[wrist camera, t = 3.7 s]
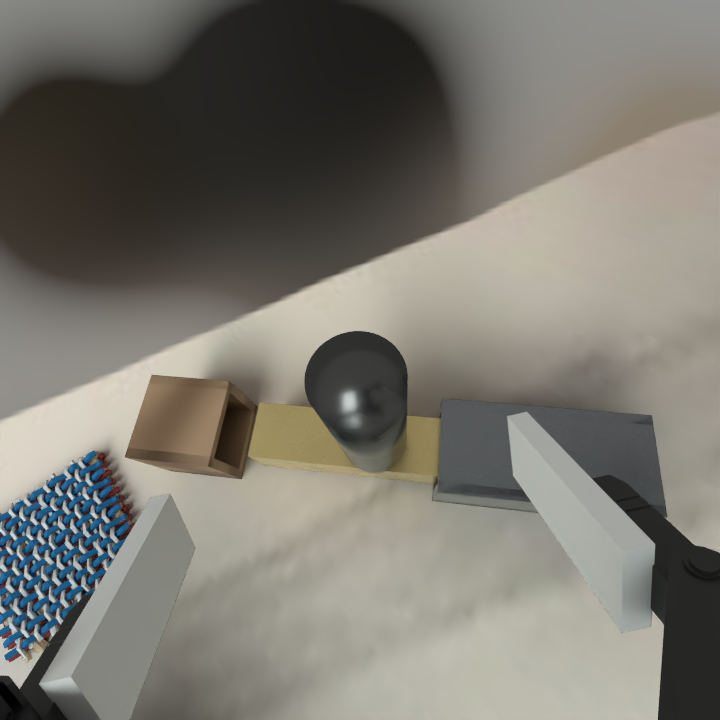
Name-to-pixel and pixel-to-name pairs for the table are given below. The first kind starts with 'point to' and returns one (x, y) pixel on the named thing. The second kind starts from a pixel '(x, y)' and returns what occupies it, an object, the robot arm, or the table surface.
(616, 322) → the table surface
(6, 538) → the woven mat
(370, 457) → the slide bolt with knob
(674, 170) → the table surface
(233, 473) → the socket
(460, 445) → the sleeve
